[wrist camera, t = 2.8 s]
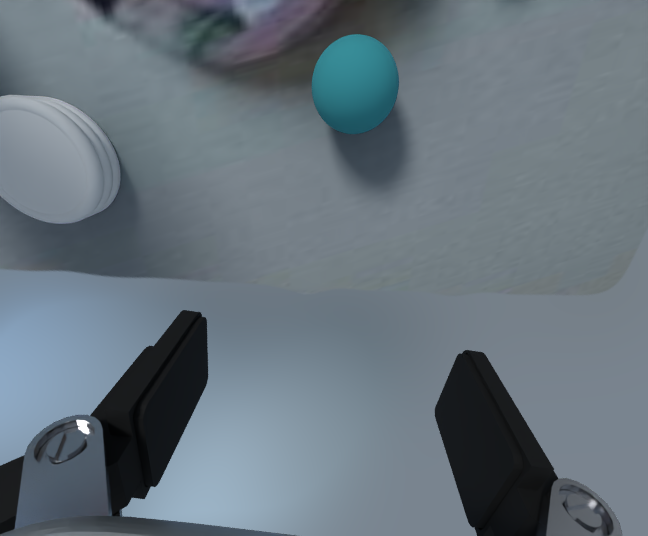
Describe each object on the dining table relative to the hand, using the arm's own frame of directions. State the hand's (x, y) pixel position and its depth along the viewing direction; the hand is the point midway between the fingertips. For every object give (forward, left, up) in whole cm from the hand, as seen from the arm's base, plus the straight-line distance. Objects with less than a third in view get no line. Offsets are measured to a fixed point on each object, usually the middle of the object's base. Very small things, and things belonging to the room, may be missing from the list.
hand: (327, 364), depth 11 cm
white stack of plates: (-15, +19, -21) cm, 32 cm away
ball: (+7, +6, -17) cm, 20 cm away
